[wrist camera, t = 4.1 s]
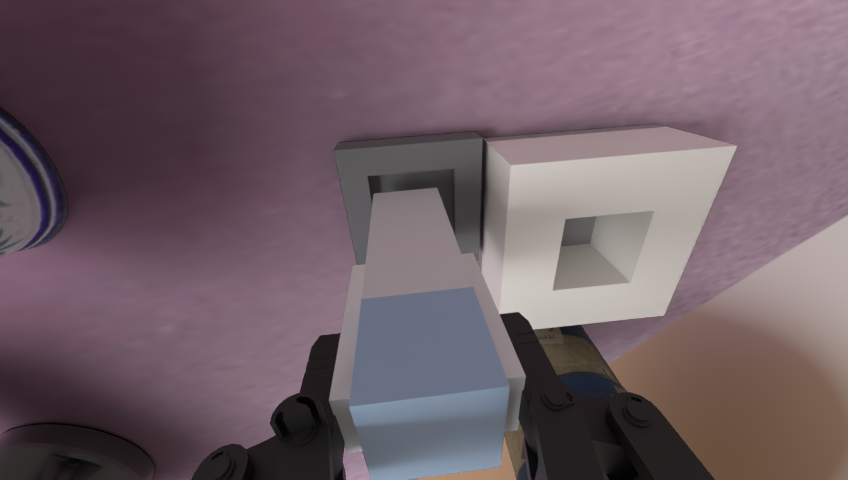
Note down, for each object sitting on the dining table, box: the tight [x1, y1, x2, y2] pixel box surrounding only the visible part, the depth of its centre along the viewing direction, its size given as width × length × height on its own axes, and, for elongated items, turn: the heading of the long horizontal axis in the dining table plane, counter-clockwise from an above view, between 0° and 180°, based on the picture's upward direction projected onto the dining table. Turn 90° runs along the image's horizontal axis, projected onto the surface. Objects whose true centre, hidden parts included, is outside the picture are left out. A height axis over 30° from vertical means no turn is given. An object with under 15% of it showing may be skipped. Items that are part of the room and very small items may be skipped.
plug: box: [349, 188, 510, 480], centre depth 15 cm, size 4×4×14 cm
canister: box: [504, 325, 627, 480], centre depth 23 cm, size 10×10×18 cm
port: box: [479, 124, 737, 330], centre depth 22 cm, size 12×12×6 cm
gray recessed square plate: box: [334, 131, 483, 265], centre depth 22 cm, size 9×9×2 cm
